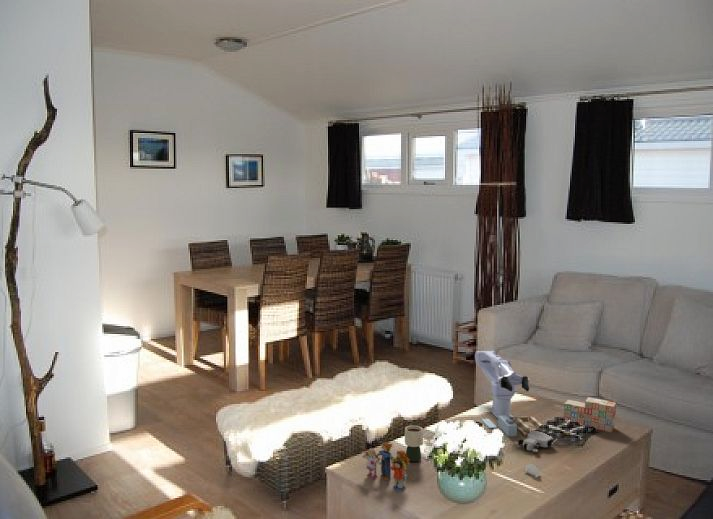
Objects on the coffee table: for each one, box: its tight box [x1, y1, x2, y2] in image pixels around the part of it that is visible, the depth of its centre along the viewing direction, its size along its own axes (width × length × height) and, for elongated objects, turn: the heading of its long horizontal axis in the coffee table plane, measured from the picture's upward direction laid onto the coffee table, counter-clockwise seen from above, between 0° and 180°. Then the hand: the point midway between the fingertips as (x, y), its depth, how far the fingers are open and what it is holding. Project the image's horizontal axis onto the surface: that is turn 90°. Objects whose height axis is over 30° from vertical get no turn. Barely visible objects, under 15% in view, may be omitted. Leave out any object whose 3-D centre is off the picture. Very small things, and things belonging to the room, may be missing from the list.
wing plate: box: [480, 418, 498, 429], centre depth 290 cm, size 10×4×1 cm, turn 9°
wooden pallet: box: [512, 415, 543, 437], centre depth 285 cm, size 16×12×3 cm
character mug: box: [404, 425, 424, 462], centre depth 252 cm, size 11×7×13 cm, turn 34°
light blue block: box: [497, 415, 518, 437], centre depth 283 cm, size 12×4×6 cm, turn 9°
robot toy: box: [514, 430, 558, 453], centre depth 266 cm, size 12×4×15 cm
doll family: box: [361, 441, 411, 492], centre depth 235 cm, size 21×10×13 cm, turn 46°
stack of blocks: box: [563, 396, 617, 433], centre depth 289 cm, size 21×6×12 cm, turn 58°
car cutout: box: [524, 463, 541, 479], centre depth 244 cm, size 15×7×4 cm, turn 42°
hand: (519, 389), depth 279 cm, fingers open, 7 cm apart
